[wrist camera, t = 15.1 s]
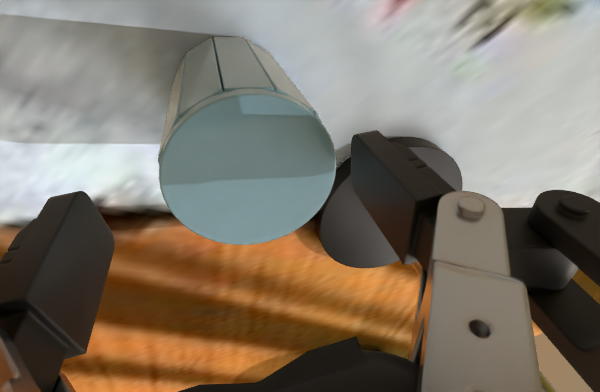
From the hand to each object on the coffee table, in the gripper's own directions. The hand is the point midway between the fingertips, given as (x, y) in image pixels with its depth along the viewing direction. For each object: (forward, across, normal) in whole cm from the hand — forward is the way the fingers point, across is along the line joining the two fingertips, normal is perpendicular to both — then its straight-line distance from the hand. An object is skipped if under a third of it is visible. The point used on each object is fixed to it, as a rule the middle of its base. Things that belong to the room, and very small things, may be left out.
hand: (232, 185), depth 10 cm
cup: (+10, -1, +1) cm, 10 cm away
